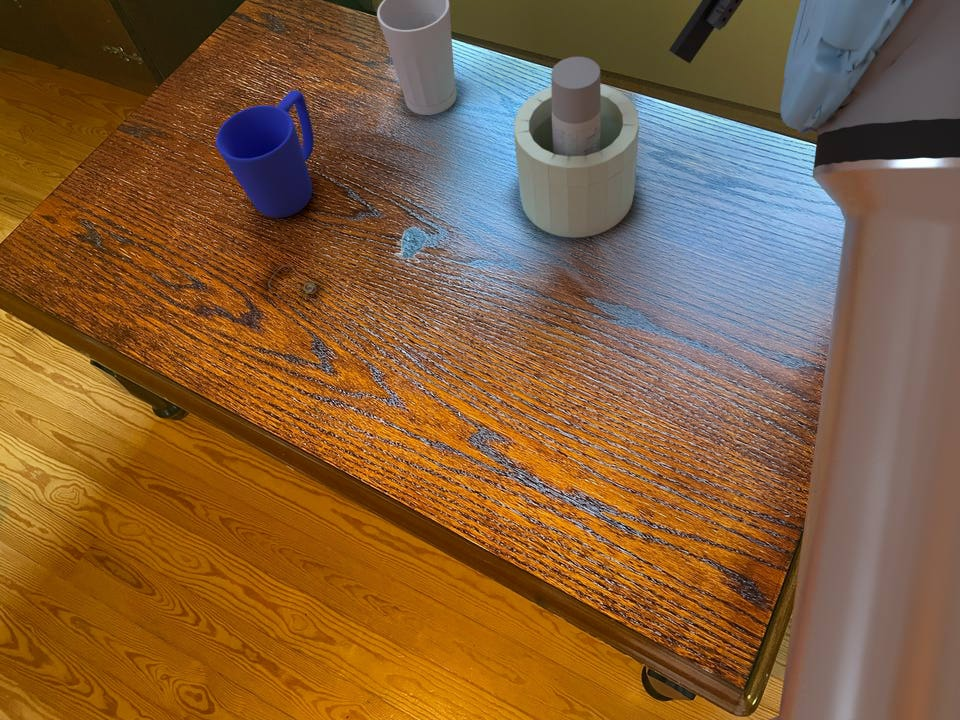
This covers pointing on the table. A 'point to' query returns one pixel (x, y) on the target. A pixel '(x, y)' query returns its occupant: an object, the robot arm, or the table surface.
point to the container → (576, 107)
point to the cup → (421, 51)
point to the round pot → (577, 168)
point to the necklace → (304, 285)
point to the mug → (270, 155)
